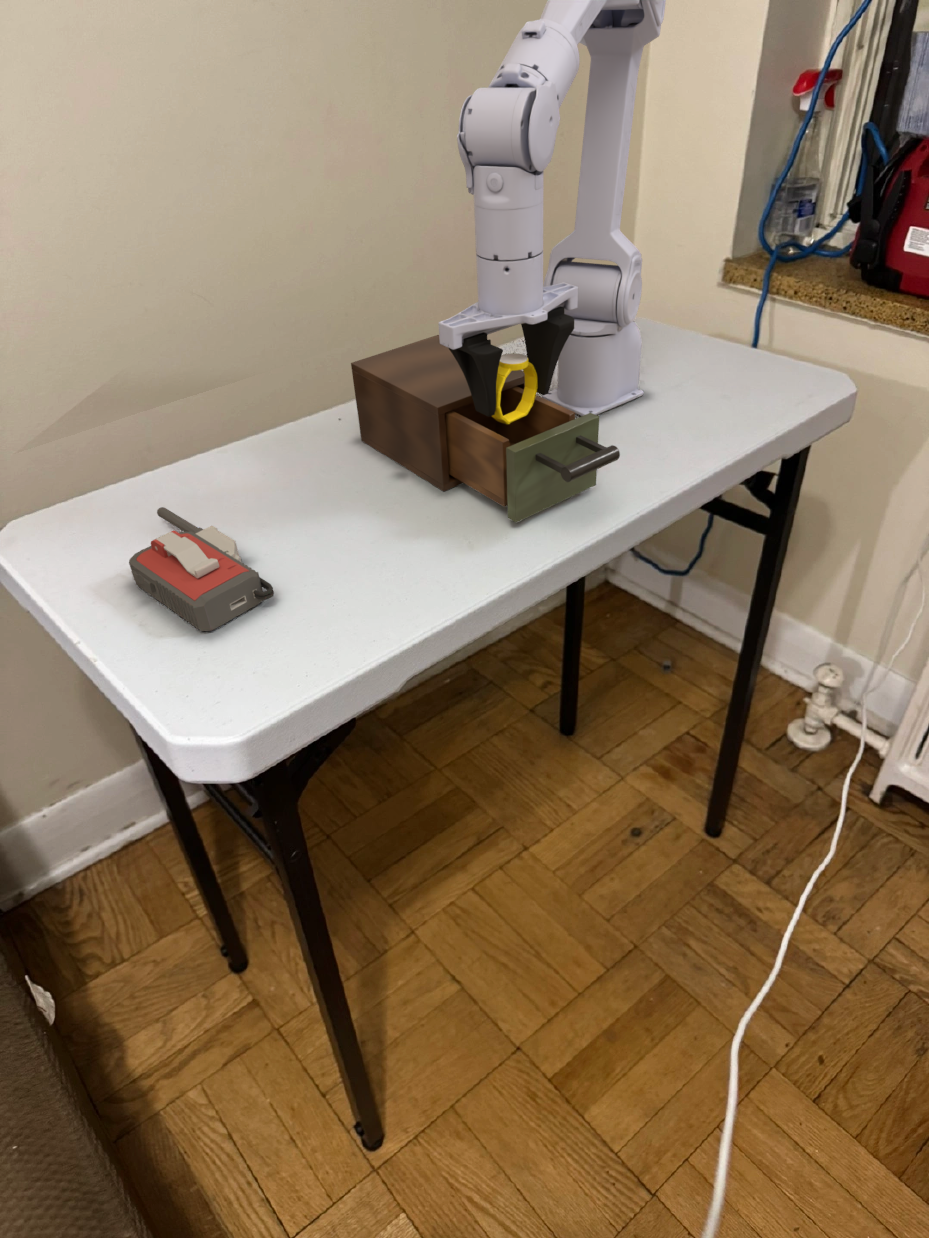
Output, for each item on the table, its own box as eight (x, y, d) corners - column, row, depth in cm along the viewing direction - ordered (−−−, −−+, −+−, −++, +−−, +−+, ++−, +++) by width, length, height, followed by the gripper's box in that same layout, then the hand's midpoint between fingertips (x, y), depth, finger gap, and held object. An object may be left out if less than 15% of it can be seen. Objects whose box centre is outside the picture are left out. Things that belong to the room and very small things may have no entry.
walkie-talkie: (297, 593, 75) (173, 517, 86) (288, 551, 72) (161, 478, 83) (211, 643, 70) (91, 556, 81) (198, 600, 67) (76, 516, 79)
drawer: (632, 504, 82) (638, 433, 78) (551, 544, 77) (552, 472, 73) (502, 436, 94) (500, 372, 90) (425, 468, 90) (419, 402, 85)
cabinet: (530, 454, 93) (529, 373, 87) (443, 492, 87) (437, 408, 82) (443, 410, 103) (438, 334, 97) (361, 440, 97) (350, 362, 92)
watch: (504, 434, 80) (503, 372, 77) (482, 426, 82) (479, 366, 78) (543, 411, 84) (544, 351, 80) (521, 404, 85) (520, 345, 82)
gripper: (471, 281, 68) (478, 440, 76) (604, 242, 74) (597, 391, 83) (419, 263, 72) (431, 415, 81) (548, 227, 79) (547, 371, 87)
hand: (512, 402), depth 82 cm, fingers closed on watch, 6 cm apart
